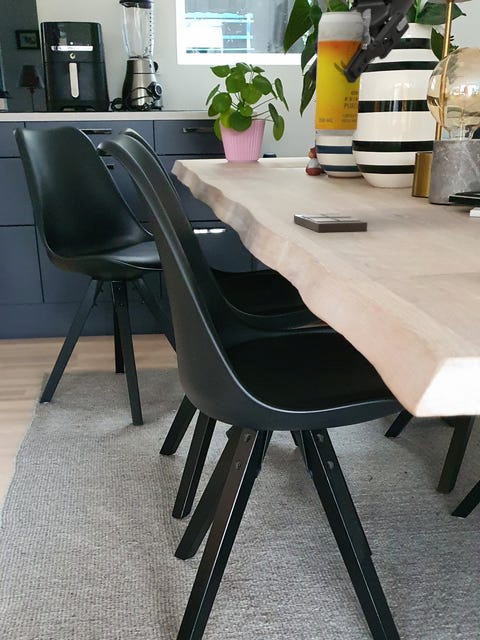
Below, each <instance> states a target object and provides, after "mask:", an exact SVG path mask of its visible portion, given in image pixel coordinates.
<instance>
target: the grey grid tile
mask: <svg viewBox="0 0 480 640" xmlns="http://www.w3.org/2000/svg"><path fill="white" fill-rule="evenodd" d="M293 223H294V224H296V225H299V226H302V227H304V228H307V229H309V230H311V231H314V232H317V233H345V232H348V233H349V232H367V231H368V222H367V221H364V220H362V219H358V218H355V217H352V216H349V215H346V214H343V213H305V214H304V213H303V214H301V213H299V214H293Z"/></svg>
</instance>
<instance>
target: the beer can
mask: <svg viewBox="0 0 480 640" xmlns="http://www.w3.org/2000/svg"><path fill="white" fill-rule="evenodd" d="M363 26H364V23H363V20H362V17H361V13H357V12H349V11H327V12H323V13H322V14H321V17H320V20H319V22H318V33H317V36H318V53H317V54H316V58H317V76H316V83H315V99H314V100H315V102H314V123H313V125H314V127H313V129H314V131H315V132H316V133H317V136H318V137H353V136H354V133H356V131H357V130H358V117H359V102H360V101H359V100H360V88H361V87H360V86H361V85H360V84H361V75H360V76H359V77H358V78H357V80H356V81H355V82H354V83H348V81H347V79H346V77H345V75H344V69H345V67H346V66H347V64H348V63H349V61H350V60H351V58H352V57H353V55H354V54H355V52H356V51H357V50H361V49H360V44H361V40H362V33H363Z"/></svg>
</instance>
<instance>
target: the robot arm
mask: <svg viewBox="0 0 480 640" xmlns="http://www.w3.org/2000/svg"><path fill="white" fill-rule="evenodd" d="M414 2H415V0H353V2H352V7H351V9H350V10H349V11H348V12H357V13H361V17H362V20H363V23H364V26H363V33H362V40H361V44H360V49H361V50H357V51H356V52H355V54H354V55H353V57H352V58H351V60H350V61H349V63H348V64H347V66H346V67H345V69H344V75H345V77H346V79H347V81H348V83H354V82H355V81H356V80H357V78H358V77H359V76H360V77H361V75H363V72H364V70H365V69H366V67H367V66H368V65H369V64H371V63H373V62H374V61H375V60H376V58H378V59H379V60H384V59H385V58H387V57H388V55H389V54H390V53H391V52H392V51H393V49H394V48H395V47H396V46H397V44H398V43H399V41H401V39H402V38H403V36H404V35H405V34H406V33H407V31H408V30H409V29H410V24H409V22H408V19H407V16H406V14H407V13H408V11H409V10H410V8H411V6H412V5H413V3H414ZM385 40H386V43H385V45H384V43H383V42H384V41H385ZM311 47H312V49H313V51H314V52H315V54H316V55H317V53H318V35H317V36H316V38H315V40H314V42H313V43H312V45H311ZM307 75H308V76H309V78H310V80H311V81H312V84H316V76H317V57H315V59H314V61H313V62H312V64H311V65H310V66H309V68H308V70H307Z"/></svg>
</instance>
